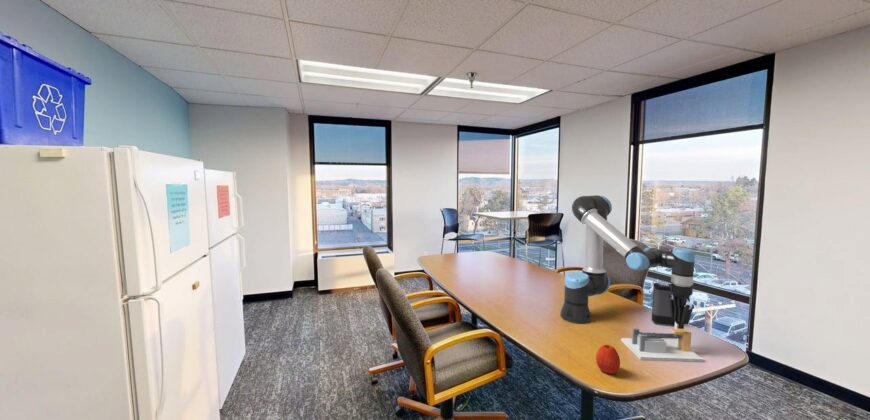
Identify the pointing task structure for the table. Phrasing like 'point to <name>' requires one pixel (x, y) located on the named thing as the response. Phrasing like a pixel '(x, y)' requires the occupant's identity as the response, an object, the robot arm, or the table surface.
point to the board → (664, 356)
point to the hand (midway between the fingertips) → (678, 337)
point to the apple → (608, 359)
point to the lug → (683, 338)
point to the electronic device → (662, 305)
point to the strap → (660, 335)
